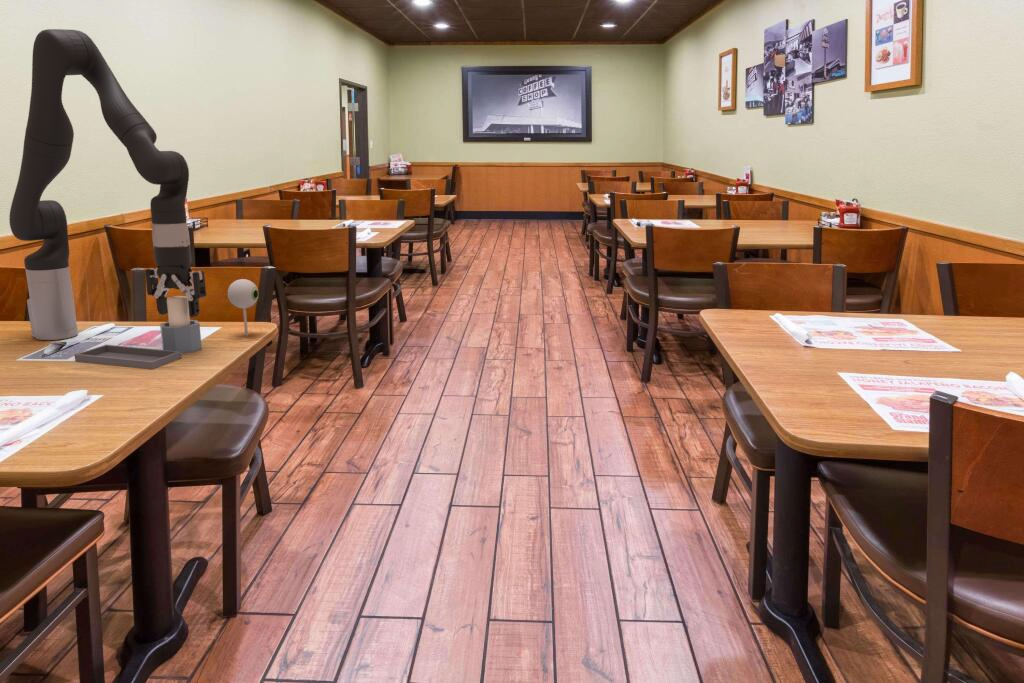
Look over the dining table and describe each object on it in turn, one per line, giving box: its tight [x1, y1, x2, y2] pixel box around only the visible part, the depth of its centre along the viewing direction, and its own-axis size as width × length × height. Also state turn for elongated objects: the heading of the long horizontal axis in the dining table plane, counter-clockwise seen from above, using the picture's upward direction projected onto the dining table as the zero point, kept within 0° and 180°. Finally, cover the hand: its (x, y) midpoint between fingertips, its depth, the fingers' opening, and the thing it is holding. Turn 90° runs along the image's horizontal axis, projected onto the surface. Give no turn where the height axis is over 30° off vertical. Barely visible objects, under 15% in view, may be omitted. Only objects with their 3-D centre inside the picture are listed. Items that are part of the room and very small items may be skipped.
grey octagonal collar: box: [159, 319, 203, 355], centre depth 177 cm, size 8×8×7 cm
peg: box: [167, 295, 191, 327], centre depth 176 cm, size 4×4×12 cm
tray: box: [74, 344, 182, 370], centre depth 169 cm, size 20×9×2 cm, turn 74°
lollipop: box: [227, 278, 260, 337], centre depth 189 cm, size 7×7×15 cm
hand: (178, 315), depth 176 cm, fingers open, 7 cm apart
